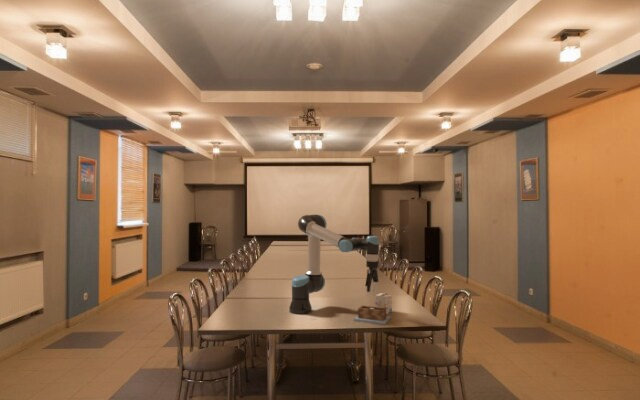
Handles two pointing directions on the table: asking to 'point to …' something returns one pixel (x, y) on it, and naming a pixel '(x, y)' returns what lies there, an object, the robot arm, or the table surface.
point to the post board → (372, 320)
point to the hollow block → (372, 313)
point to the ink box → (384, 301)
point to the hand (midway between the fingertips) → (371, 294)
